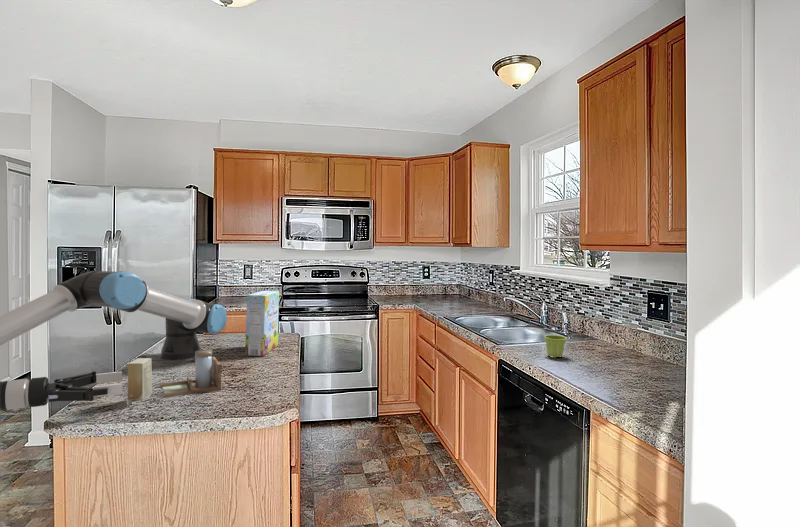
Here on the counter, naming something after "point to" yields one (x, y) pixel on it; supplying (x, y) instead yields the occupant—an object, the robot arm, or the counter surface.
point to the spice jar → (203, 368)
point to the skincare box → (139, 379)
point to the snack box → (262, 322)
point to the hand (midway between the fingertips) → (122, 381)
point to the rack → (182, 388)
